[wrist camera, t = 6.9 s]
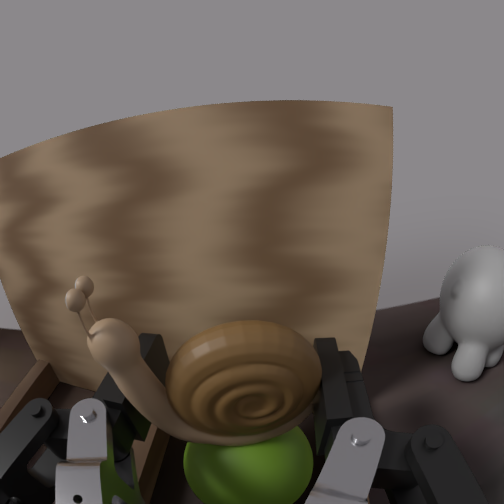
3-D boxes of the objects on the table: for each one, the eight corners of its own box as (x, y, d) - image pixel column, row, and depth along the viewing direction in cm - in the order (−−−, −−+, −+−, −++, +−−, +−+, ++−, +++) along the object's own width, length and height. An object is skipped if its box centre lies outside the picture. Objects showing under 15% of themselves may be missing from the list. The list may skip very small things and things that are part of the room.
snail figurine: (177, 449, 13) (99, 244, 8) (291, 434, 14) (299, 220, 9) (182, 534, 8) (16, 358, 3) (320, 514, 9) (402, 312, 4)
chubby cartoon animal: (536, 346, 15) (571, 257, 11) (457, 401, 13) (512, 283, 10) (491, 307, 22) (514, 226, 18) (406, 338, 20) (431, 233, 17)
